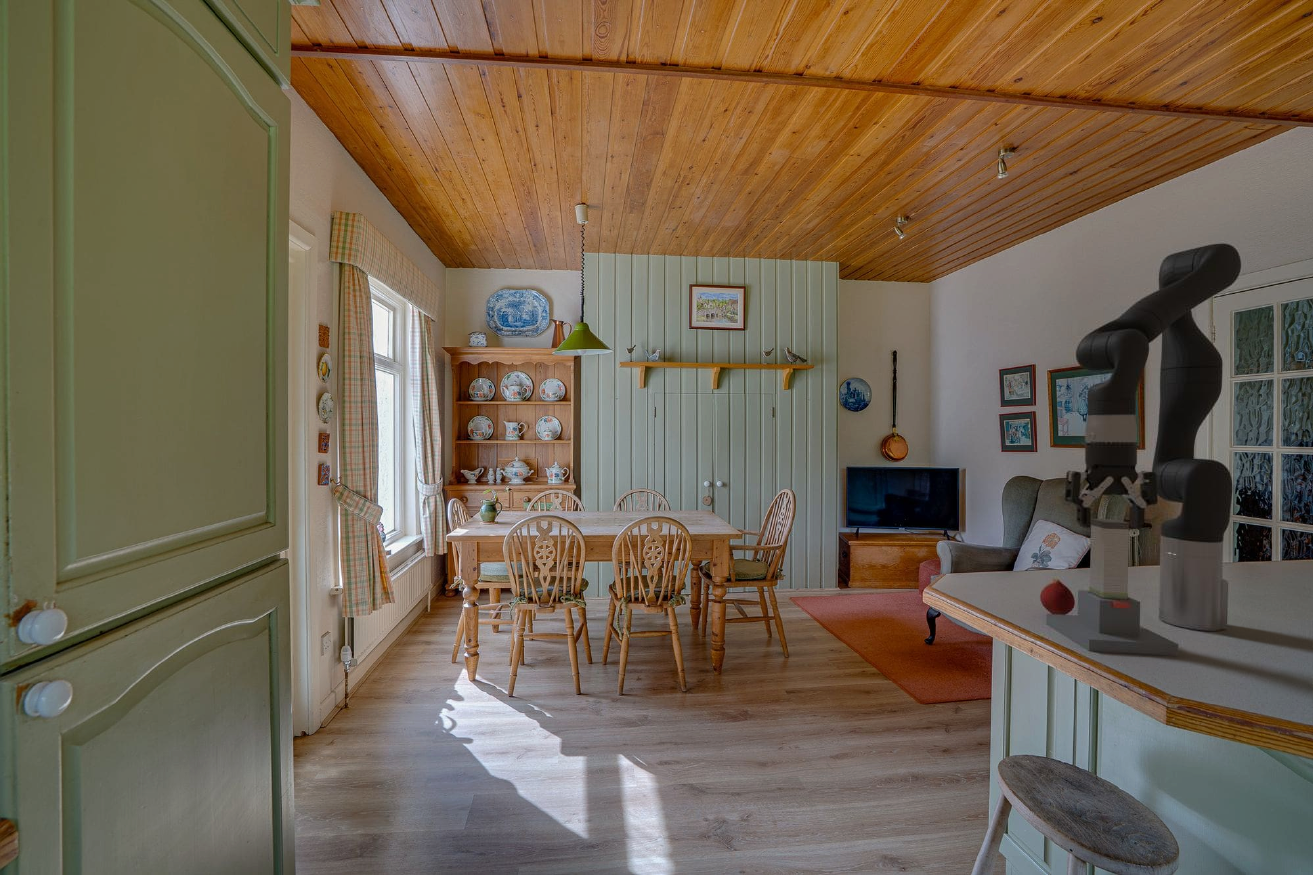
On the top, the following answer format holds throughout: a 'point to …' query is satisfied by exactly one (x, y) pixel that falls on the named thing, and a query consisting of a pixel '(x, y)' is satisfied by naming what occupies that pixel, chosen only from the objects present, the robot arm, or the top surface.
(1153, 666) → the top surface
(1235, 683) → the top surface
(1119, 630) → the stand
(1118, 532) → the column
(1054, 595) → the onion
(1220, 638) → the top surface
